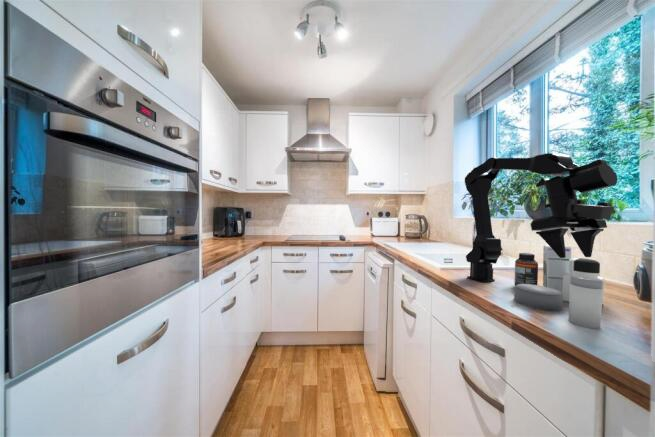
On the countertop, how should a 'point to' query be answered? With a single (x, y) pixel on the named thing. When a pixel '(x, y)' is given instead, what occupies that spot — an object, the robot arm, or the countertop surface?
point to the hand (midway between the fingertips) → (575, 257)
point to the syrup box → (555, 267)
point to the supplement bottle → (526, 269)
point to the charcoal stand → (538, 297)
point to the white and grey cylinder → (585, 301)
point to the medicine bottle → (580, 273)
